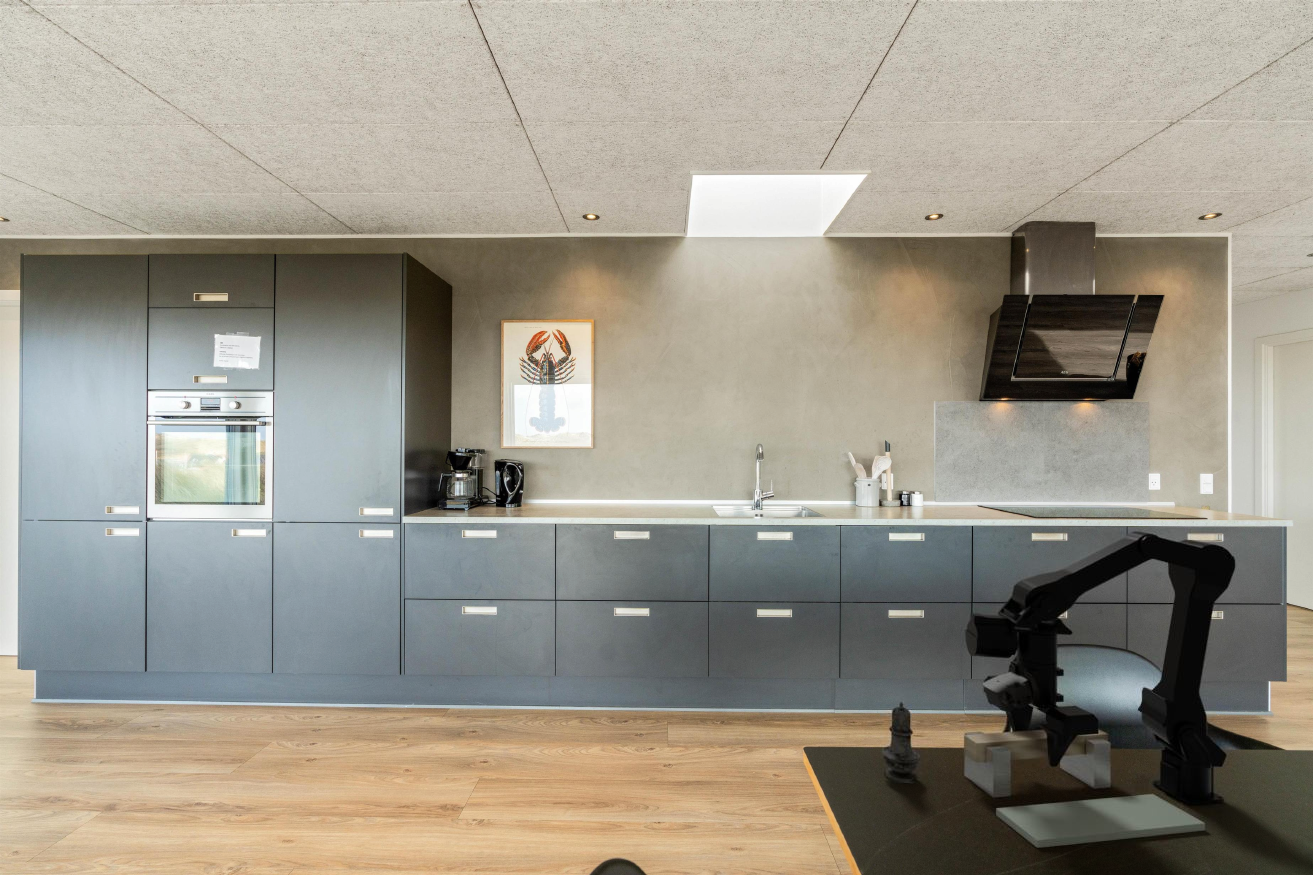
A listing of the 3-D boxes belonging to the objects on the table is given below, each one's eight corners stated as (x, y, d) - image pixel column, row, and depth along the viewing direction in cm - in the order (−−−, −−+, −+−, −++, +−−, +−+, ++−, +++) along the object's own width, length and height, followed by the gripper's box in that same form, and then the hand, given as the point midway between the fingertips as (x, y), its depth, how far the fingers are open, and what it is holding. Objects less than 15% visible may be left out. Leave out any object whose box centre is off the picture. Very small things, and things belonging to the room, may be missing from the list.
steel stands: (1075, 766, 111) (1075, 724, 112) (1110, 786, 105) (1110, 742, 105) (964, 775, 108) (964, 732, 108) (993, 797, 101) (993, 751, 101)
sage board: (1152, 800, 101) (1152, 793, 101) (1204, 830, 93) (1204, 822, 93) (996, 815, 96) (996, 808, 96) (1037, 847, 88) (1037, 840, 88)
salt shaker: (923, 786, 104) (923, 710, 104) (884, 782, 105) (885, 706, 105) (916, 769, 110) (916, 696, 110) (879, 765, 111) (880, 693, 111)
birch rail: (1092, 744, 110) (1092, 726, 110) (1108, 752, 107) (1108, 733, 107) (964, 753, 106) (964, 735, 106) (976, 762, 103) (976, 743, 103)
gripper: (956, 644, 114) (955, 734, 114) (1036, 681, 96) (1035, 789, 96) (1012, 642, 116) (1012, 730, 116) (1101, 677, 98) (1101, 783, 98)
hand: (1036, 756), depth 106 cm, fingers open, 7 cm apart
